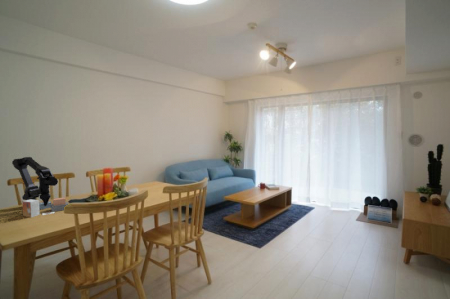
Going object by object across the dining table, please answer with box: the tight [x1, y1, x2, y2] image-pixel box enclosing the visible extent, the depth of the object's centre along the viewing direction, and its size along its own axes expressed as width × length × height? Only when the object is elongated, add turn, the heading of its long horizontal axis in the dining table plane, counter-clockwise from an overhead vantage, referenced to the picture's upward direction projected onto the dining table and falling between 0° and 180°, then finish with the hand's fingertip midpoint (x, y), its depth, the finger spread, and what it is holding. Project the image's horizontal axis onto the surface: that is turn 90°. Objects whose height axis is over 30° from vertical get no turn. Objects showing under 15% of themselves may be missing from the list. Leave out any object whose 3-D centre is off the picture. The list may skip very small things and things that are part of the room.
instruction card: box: [41, 211, 55, 216], centre depth 161 cm, size 5×7×1 cm
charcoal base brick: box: [50, 201, 69, 212], centre depth 170 cm, size 8×10×4 cm
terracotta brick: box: [52, 197, 67, 206], centre depth 169 cm, size 5×7×4 cm
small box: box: [22, 199, 40, 218], centre depth 157 cm, size 8×6×10 cm
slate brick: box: [39, 201, 52, 210], centre depth 173 cm, size 5×7×4 cm
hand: (45, 205), depth 173 cm, fingers closed on slate brick, 5 cm apart
